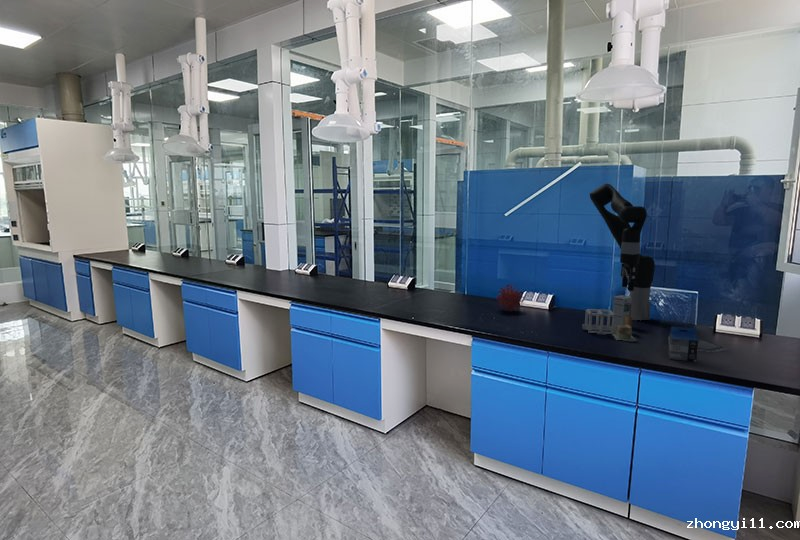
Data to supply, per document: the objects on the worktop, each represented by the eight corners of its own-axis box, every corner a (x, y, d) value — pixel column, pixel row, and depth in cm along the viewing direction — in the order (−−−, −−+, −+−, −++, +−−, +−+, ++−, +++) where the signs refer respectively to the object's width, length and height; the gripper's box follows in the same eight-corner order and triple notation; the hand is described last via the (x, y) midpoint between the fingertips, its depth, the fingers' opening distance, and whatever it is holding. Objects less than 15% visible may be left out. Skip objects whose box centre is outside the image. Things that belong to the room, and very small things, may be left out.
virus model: (493, 313, 247) (494, 286, 245) (498, 307, 261) (499, 281, 258) (521, 315, 242) (522, 288, 239) (524, 309, 255) (525, 283, 253)
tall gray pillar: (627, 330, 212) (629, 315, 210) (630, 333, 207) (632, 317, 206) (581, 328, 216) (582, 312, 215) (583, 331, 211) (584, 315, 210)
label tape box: (669, 359, 174) (672, 328, 172) (667, 356, 178) (670, 326, 176) (696, 362, 171) (699, 331, 169) (693, 359, 175) (696, 328, 173)
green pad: (631, 336, 204) (631, 335, 204) (636, 341, 196) (636, 340, 196) (612, 335, 206) (612, 334, 206) (616, 340, 198) (616, 339, 198)
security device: (733, 357, 178) (733, 353, 178) (668, 348, 189) (668, 344, 189) (728, 346, 193) (728, 342, 192) (667, 338, 204) (668, 334, 203)
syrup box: (622, 327, 219) (624, 298, 217) (611, 324, 224) (613, 295, 222) (629, 326, 222) (632, 297, 219) (619, 323, 227) (621, 294, 225)
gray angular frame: (612, 329, 215) (613, 310, 214) (617, 335, 206) (619, 314, 205) (584, 328, 218) (585, 308, 216) (588, 333, 208) (589, 313, 207)
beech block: (627, 335, 203) (628, 324, 202) (630, 338, 198) (631, 327, 197) (615, 335, 204) (616, 324, 203) (618, 338, 199) (619, 327, 198)
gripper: (616, 250, 205) (614, 285, 207) (625, 254, 191) (623, 291, 193) (634, 250, 203) (631, 286, 206) (645, 254, 189) (642, 292, 192)
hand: (627, 288), depth 199 cm, fingers open, 8 cm apart
